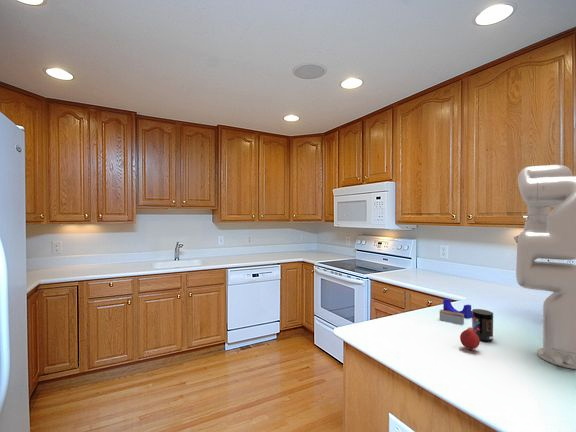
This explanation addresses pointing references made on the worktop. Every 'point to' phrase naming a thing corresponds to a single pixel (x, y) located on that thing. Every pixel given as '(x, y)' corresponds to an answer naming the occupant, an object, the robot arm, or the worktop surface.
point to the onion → (469, 339)
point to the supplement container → (483, 324)
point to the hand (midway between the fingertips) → (538, 256)
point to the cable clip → (449, 307)
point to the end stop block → (452, 317)
